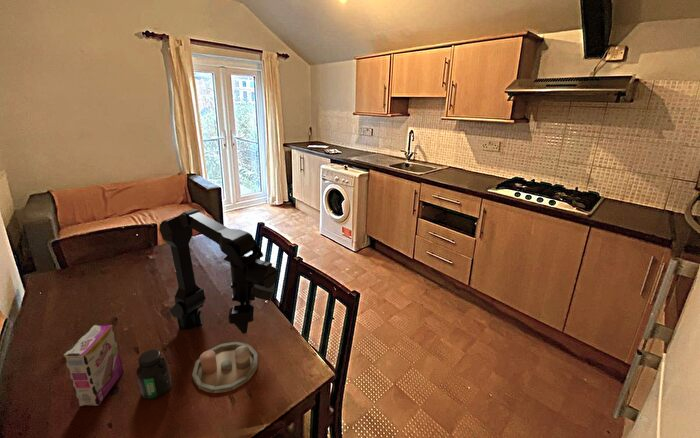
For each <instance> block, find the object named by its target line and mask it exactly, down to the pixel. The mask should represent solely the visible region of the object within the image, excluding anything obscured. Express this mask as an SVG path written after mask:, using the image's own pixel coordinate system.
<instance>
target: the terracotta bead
mask: <svg viewBox="0 0 700 438" xmlns="http://www.w3.org/2000/svg"><path fill="white" fill-rule="evenodd" d="M208 350H209V349H208ZM199 358H200V362H201V368H202V373H203V374H204V375H210V374H213V373H214V372H215V371H216V370H217V362H216V355H215V352H214V351H212V350H209V351H207V350H206V351H203V352H202V353H201V354H200V356H199Z"/></svg>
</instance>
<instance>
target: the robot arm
mask: <svg viewBox="0 0 700 438" xmlns="http://www.w3.org/2000/svg"><path fill="white" fill-rule="evenodd" d="M158 230H159V233H160V234H161V237H162V240H163V241H164V242H166V244H167V245H168V246H170V249H171V250H170V251H171V255H172V261H173V266H174V270H175V275H176V280H177V285H178V286H177V287H178V288H177V290H176V293H175V295H174V305H173V306H172V307H171V308H170V309H169V312H170V314H171V316H172V317H174V318H176V319H177V324H178V329H179V330H181V329H182V330H192V329H194V328H198V327H199V328H200V327H201V326H202V324H203V315H202V314H203V313H202V311H201V310H200V308H203V307H204V304H205V300H206V299H207V298H206V295H205V290H204V288H201V287H200V286H199V285H197V283H196V279H195V272H194V265H193V261H192V255H191V249H190V242H191V240H192V237H193V236H194V234H193V232H194V231H196V232H198V233H199V234H201V235H203V236H204V237H206V238H208V239H209V240H211V241H213V242H214V243H216V244H217V245H218V246H219V249H220V251H221V252H222V253H223V254H224V255H226V256H225V257H224V258H223V260H224V261H225V262H228V263H229V267H230V277H231V283H230V289H231V290H232V296H231V300H232V302H238V303H239V304H240V305H233V306H231V308H229V312H228V323H230V324H233V325H234V326H236V327H237V329H238V330H239V331H240V332H241V333H242V334H243V335H244V334H247V333H248V332H247V331H248V328H249V323H252V322H254V319H255V306H254V305H252V303H251V302H253V301H255V300H256V299H260V300H265V301H267V302H270V301H272V298H273V296H274V292H275V285H276V282H277V279H278V275H279V274H278V273H279V272H278V270H277V268H276V267H275V266H273V263H272V262H270V261H265V260H263V259H261V258H263V257H264V253H263V252H262V249H261V247H259V245H258V243H257V242H256V240H255V238H254V236H253V234H251V233H250V232H248V231H245V230H242V229H238V228H229V227H227V226H226V225H223V224H222V223H220V222H219V221H216V220H214V218H211V217H209V216H208V215H205V214H204V213H203V212H201V210H199V209H198V208H196V209H195V208H193V209H190V210H187V211H184V212H182V213H181V214H179V215H178V216H174V217H171V218H168V219H167V218H166V219H165V220H163V221H161V223H160V224H159V229H158ZM250 252H252V253H251V254H249V255H247V254H248V253H250ZM246 255H247V256H246Z"/></svg>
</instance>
